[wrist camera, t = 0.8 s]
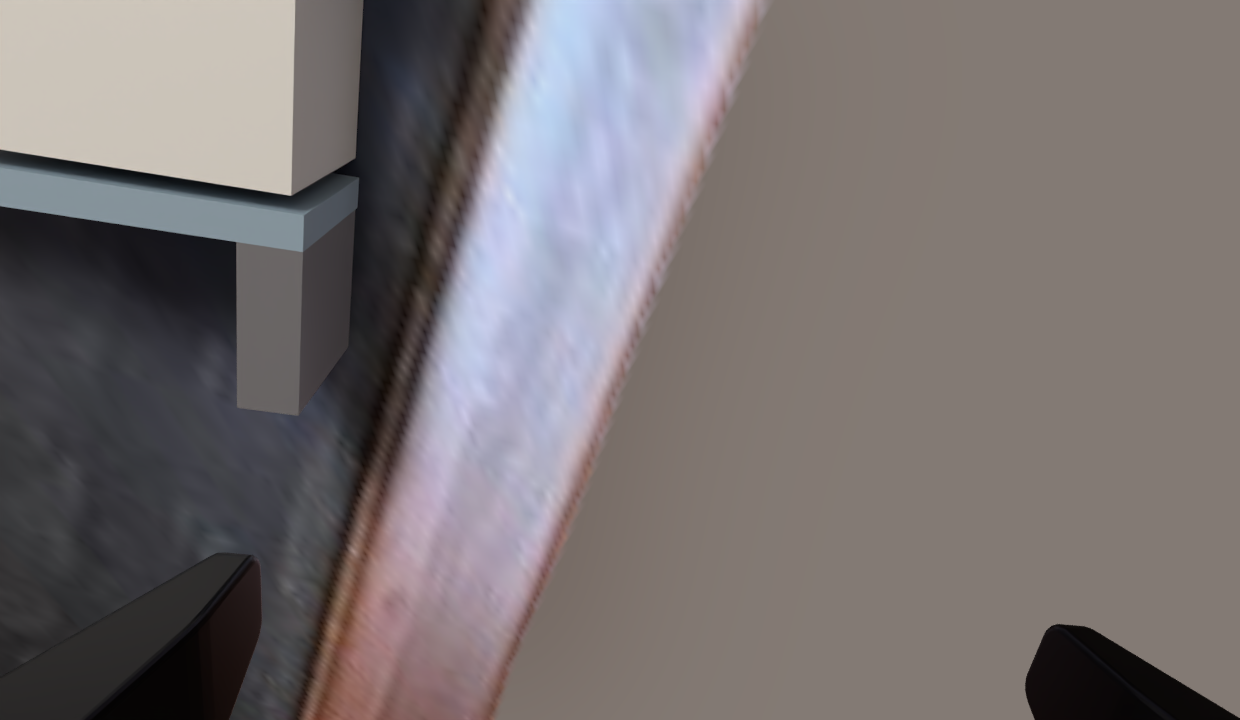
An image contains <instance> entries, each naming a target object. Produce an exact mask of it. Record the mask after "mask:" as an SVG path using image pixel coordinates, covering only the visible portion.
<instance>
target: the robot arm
mask: <svg viewBox="0 0 1240 720" xmlns="http://www.w3.org/2000/svg"><path fill="white" fill-rule="evenodd" d="M261 624H262V597H261V568H260V563H259V560H258V559H257V558H256V557H255V556H254V555H247V554H235V553H216V554H214V555H212V556H210V557H208V558H206V559H205V560H203V561H201V562H199V563H198V564H196V565H194V566H193V567H191V568H189V569H187V570H186V571H184V572H182V573H180V574H179V575H177V576H175V577H173V578H172V579H170V580H168V581H167V582H165V583H163V584H161V585H160V586H158V587H156V588H154V589H153V590H151V591H149V592H147V593H146V594H144V595H142V596H140V597H139V598H137V599H135V600H134V601H132V602H130V603H128V604H127V605H125V606H123V607H121V608H120V609H118V610H116V611H114V612H113V613H111V614H109V615H107V616H106V617H104V618H102V619H101V620H99V621H97V622H95V623H94V624H92V625H90V626H88V627H87V628H85V629H83V630H81V631H80V632H78V633H76V634H74V635H73V636H71V637H69V638H68V639H66V640H64V641H62V642H61V643H59V644H57V645H55V646H54V647H52V648H50V649H48V650H47V651H45V652H43V653H41V654H40V655H38V656H36V657H35V658H33V659H31V660H29V661H28V662H26V663H24V664H22V665H21V666H19V667H17V668H15V669H14V670H12V671H10V672H8V673H7V674H5V675H3V676H2V677H0V720H229V718H230V716H231V713H232V710H233V707H234V705H235V702H236V699H237V696H238V694H239V691H240V688H241V685H242V683H243V680H244V677H245V674H246V672H247V669H248V666H249V663H250V661H251V658H252V655H253V652H254V650H255V647H256V644H257V641H258V638H259V634H260V630H261ZM1025 691H1026V696H1027V700H1028V703H1029V706H1030V708H1031V711H1032V714H1033V716H1034V719H1035V720H1240V718H1238V717H1237V716H1235V715H1234V714H1232V713H1230V712H1229V711H1227V710H1225V709H1224V708H1222V707H1220V706H1219V705H1217V704H1215V703H1214V702H1212V701H1210V700H1209V699H1207V698H1205V697H1204V696H1202V695H1200V694H1199V693H1197V692H1196V691H1194V690H1192V689H1190V688H1189V687H1187V686H1185V685H1184V684H1182V683H1181V682H1179V681H1177V680H1176V679H1174V678H1172V677H1171V676H1169V675H1167V674H1166V673H1164V672H1162V671H1161V670H1159V669H1157V668H1156V667H1154V666H1152V665H1151V664H1149V663H1148V662H1146V661H1144V660H1143V659H1141V658H1139V657H1138V656H1136V655H1134V654H1133V653H1131V652H1129V651H1128V650H1126V649H1124V648H1123V647H1121V646H1119V645H1118V644H1116V643H1114V642H1113V641H1111V640H1109V639H1108V638H1106V637H1105V636H1103V635H1101V634H1100V633H1098V632H1096V631H1095V630H1093V629H1091V628H1088V627H1085V626H1075V625H1074V626H1073V625H1063V624H1056V625H1053V626H1051V627H1050V628H1049V629H1048V630H1046V632H1045V634H1044V636H1043V638H1042V641H1041V643H1040V646H1039V648H1038V650H1037V653H1036V655H1035V657H1034V660H1033V662H1032V664H1031V667H1030V669H1029V671H1028V674H1027V677H1026V683H1025Z"/></svg>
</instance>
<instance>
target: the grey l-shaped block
mask: <svg viewBox="0 0 1240 720" xmlns="http://www.w3.org/2000/svg"><path fill="white" fill-rule="evenodd" d="M358 190H359V177H353V176H347V175H340V174H334V173H331V174H329V175H327V176H326V177H324V178H322V179H321V180H319V181H317V182H316V183H314V184H312V185H311V186H309V187H307V188H305V189H304V190H303V189H302V190H300V191H299V192H297V193H295V194H293V195H292V196H289V195H283V194H277V193H271V192H264V191H258V190H252V189H245V188H239V187H233V186H227V185H220V184H214V183H208V182H201V181H195V180H189V179H183V178H176V177H170V176H164V175H157V174H151V173H145V172H139V171H132V170H126V169H120V168H113V167H107V166H101V165H95V164H88V163H82V162H76V161H69V160H63V159H57V158H51V157H44V156H38V155H32V154H25V153H19V152H13V151H7V150H0V206H3V207H9V208H16V209H22V210H29V211H36V212H42V213H49V214H55V215H62V216H68V217H75V218H82V219H88V220H95V221H101V222H108V223H115V224H121V225H128V226H134V227H141V228H147V229H154V230H161V231H167V232H174V233H180V234H187V235H194V236H200V237H207V238H213V239H220V240H226V241H233V242H236V282H237V408H243V409H251V410H259V411H266V412H274V413H282V414H289V415H297V416H299V414H300V413H301V412H302V410H303V409H304V407H305V406H306V405H307V403H308V402H309V400H310V399H311V398H312V396H313V395H314V394H315V392H316V391H317V389H318V388H319V387H320V385H321V384H322V383H323V381H324V380H325V378H326V377H327V376H328V374H329V373H330V371H331V370H332V369H333V367H334V366H335V365H336V363H337V362H338V360H339V359H340V358H341V356H342V355H343V353H344V352H345V351H346V349H347V348H348V345H349V325H350V305H351V286H352V266H353V246H354V227H355V209H356V208H358Z"/></svg>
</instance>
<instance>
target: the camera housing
mask: <svg viewBox="0 0 1240 720" xmlns="http://www.w3.org/2000/svg"><path fill="white" fill-rule="evenodd" d="M362 18H363V0H0V150H7V151H13V152H19V153H25V154H32V155H38V156H44V157H51V158H57V159H63V160H69V161H76V162H82V163H88V164H95V165H101V166H107V167H113V168H120V169H126V170H132V171H139V172H145V173H151V174H157V175H164V176H170V177H176V178H183V179H189V180H195V181H201V182H208V183H214V184H220V185H227V186H233V187H239V188H245V189H252V190H258V191H264V192H271V193H277V194H283V195H289V196H292V195H293V194H295V193H297V192H299V191H300V190H302V189H303V190H304V189H305V188H307V187H309V186H311V185H312V184H314V183H316V182H317V181H319V180H321V179H322V178H324V177H326V176H327V175H329V174H331V173H333V172H334V171H336V170H338V169H339V168H341V167H343V166H344V165H346V164H348V163H349V162H350V161H351V160H353V159H355V158H356V139H357V118H358V98H359V78H360V58H361V38H362Z"/></svg>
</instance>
